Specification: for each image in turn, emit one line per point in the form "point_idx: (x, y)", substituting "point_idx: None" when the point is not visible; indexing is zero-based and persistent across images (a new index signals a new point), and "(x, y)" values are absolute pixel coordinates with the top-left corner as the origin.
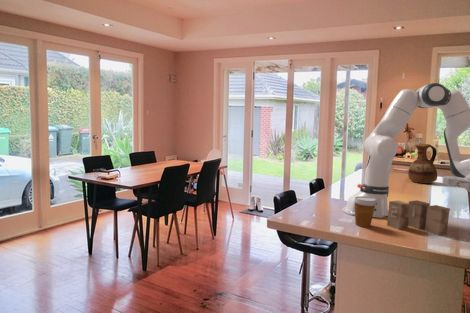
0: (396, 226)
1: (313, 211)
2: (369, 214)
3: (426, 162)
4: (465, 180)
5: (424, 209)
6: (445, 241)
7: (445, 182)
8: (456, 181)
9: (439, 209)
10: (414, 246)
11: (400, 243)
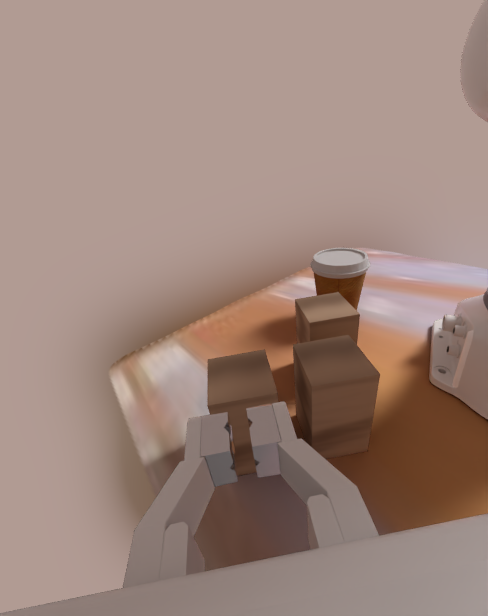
0: None
1: (445, 282)
2: (316, 290)
3: None
4: (231, 587)
5: (300, 380)
6: (180, 405)
7: None
8: (311, 457)
9: (215, 358)
10: (195, 332)
11: (217, 322)
